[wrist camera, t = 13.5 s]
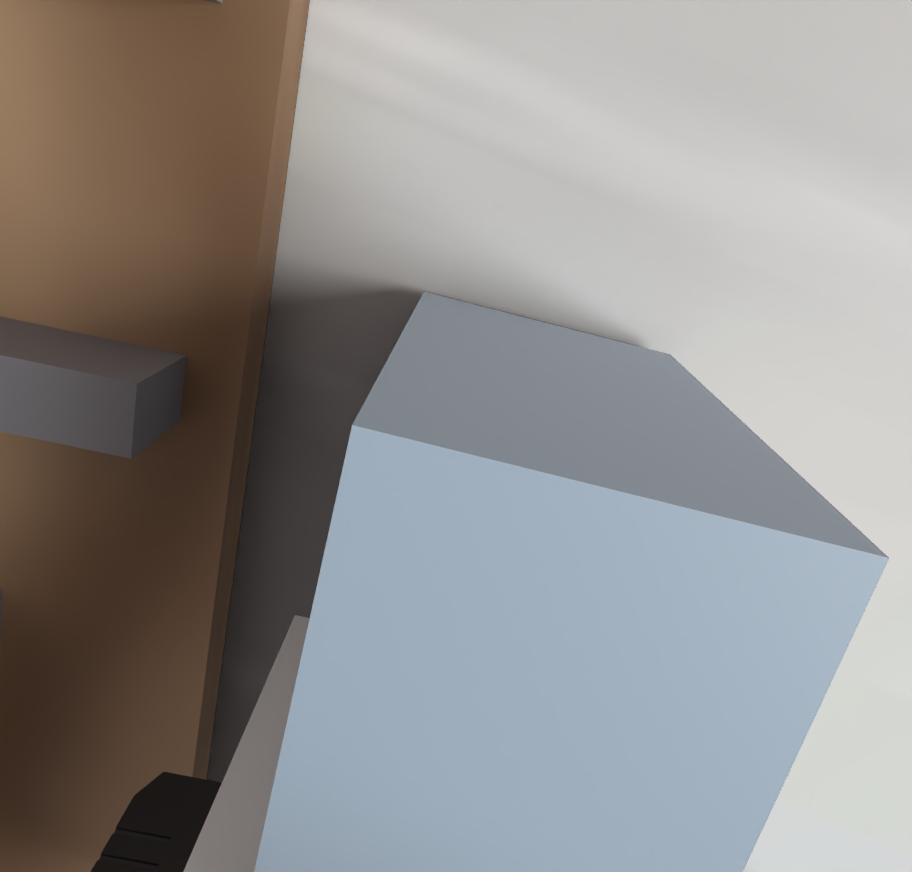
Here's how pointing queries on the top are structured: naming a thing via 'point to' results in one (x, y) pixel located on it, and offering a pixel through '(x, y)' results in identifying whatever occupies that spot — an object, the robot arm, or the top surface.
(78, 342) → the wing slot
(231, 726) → the top surface
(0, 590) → the frame
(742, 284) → the top surface
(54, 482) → the jig board
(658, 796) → the light blue rectangular block
